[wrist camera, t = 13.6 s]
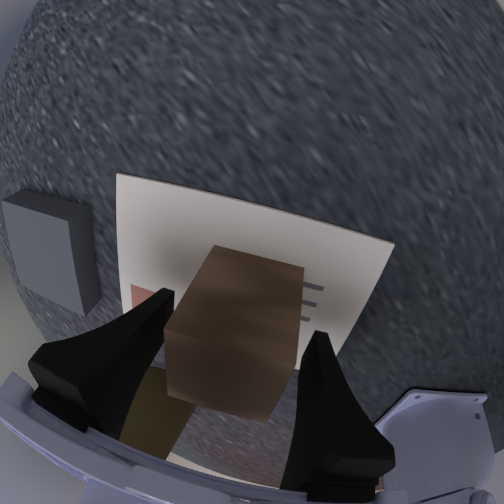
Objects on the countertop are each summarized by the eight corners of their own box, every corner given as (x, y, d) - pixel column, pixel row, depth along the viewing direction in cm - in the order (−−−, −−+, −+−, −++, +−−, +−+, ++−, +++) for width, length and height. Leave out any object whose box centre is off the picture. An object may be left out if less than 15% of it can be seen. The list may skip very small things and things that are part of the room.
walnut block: (304, 267, 14) (295, 365, 9) (282, 331, 16) (266, 422, 11) (214, 244, 14) (163, 328, 9) (206, 311, 17) (167, 395, 12)
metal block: (94, 203, 15) (67, 221, 13) (103, 295, 19) (85, 316, 17) (26, 187, 16) (1, 200, 14) (40, 267, 19) (21, 284, 17)
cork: (127, 358, 22) (65, 466, 12) (195, 377, 21) (145, 504, 11) (142, 396, 25) (97, 488, 15) (201, 413, 24) (164, 517, 14)
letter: (393, 243, 13) (394, 245, 13) (324, 372, 18) (324, 375, 18) (118, 172, 14) (116, 173, 14) (125, 314, 19) (123, 316, 19)
